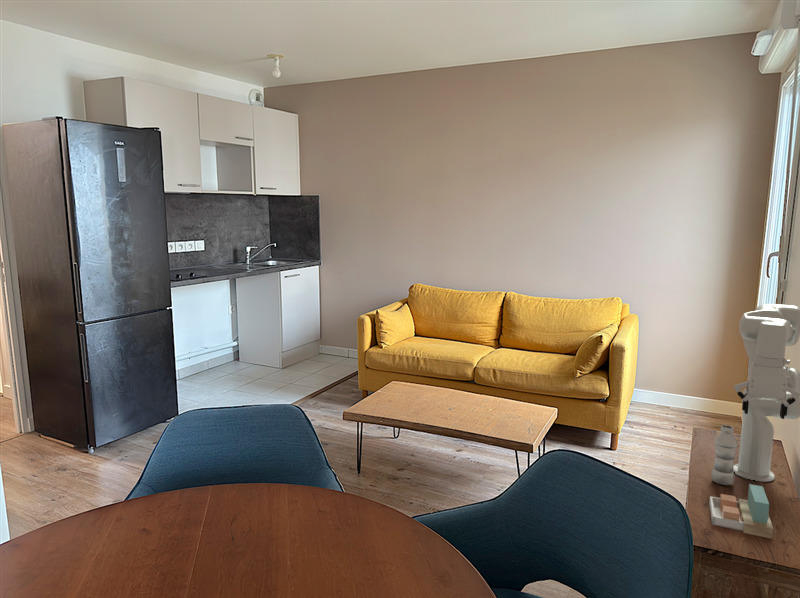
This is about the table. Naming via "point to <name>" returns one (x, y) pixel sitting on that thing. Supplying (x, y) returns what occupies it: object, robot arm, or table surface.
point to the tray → (717, 516)
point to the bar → (758, 504)
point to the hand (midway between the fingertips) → (763, 415)
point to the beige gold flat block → (752, 526)
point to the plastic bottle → (724, 456)
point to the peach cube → (730, 513)
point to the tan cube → (727, 501)
